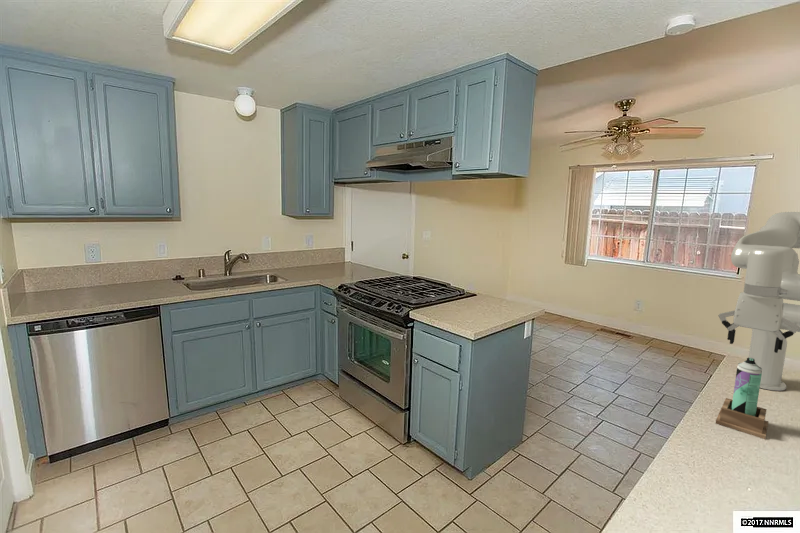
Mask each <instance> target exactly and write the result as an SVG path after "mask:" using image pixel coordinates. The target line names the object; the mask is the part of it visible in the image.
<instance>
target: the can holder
mask: <svg viewBox="0 0 800 533" xmlns="http://www.w3.org/2000/svg"><path fill="white" fill-rule="evenodd" d="M732 401H733V398H732V399H731V398H728V397H725V398H724V402H723V404H722V406H721V408H720V410H719V412H718V415H717V417H716V420H715V424H716V425H719V426H722V427H726V428H729V429H732V430H735V431H738V432H742V433H744V434H747V435H751V436H753V437H756V438H760V439H763V440H766V438H767V432H768V431H767V430H768V425H769V420H766V414H767V409H766V408H763V407H760V406H757V409H756V416H755V417H754V416H751V415H748V414H744V413H741V412H737V411H734V410H731V408H732Z"/></svg>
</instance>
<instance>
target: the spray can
mask: <svg viewBox="0 0 800 533" xmlns="http://www.w3.org/2000/svg"><path fill="white" fill-rule="evenodd" d="M761 370H762V368H761V367H759V366H758V365H757V364H756V363H755V359H753V358H748V357H746V360H744V361H743V362H739V363H737V367H736V372H735V379H734V386H733V387H734V388H733V394H732V400H733V401H732V408H731V410H734V411H737V412H741V413H744V414H748V415H751V416H754V417H755V416H756V409H757V407H758V401H759V396H760V395H759V394H760V389H761V388H760V382H761V375H762V371H761Z"/></svg>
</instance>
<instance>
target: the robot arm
mask: <svg viewBox="0 0 800 533" xmlns="http://www.w3.org/2000/svg"><path fill="white" fill-rule="evenodd" d="M795 249H800V211H783V212H782V211H781V212H778V213H775V214H772V215H771V216H770V217H768V219H767V221H766V223H765V224H764V225H763V226H762V227H760V229H759V230H758V231H755V232H752V233H751V232H750V233H748V234H746V235H744V236H742V237H740V238H739V239H738V241H737V242H736V244H735V246H734V247H733V249H732V251H731V256H730V259H731V260H730V261H731V263H732V265H733V266H734V267H736V268H739V269H743V270H745V278H744V285H743V286H744V287H743V291H741V292H740V293H739V295H738V298H737V300H736V301H737V302H736V305H735V309H734V310H731V311H726V312H720V313H719V314H718V318H719V320H720V322H721V324H722V325H723V326H724V327H725V328H726V329H727V331H728V332H727V341H729V345H730V344H731V345H733V344H734V342H735V337H736V330H737V328H738V327H742V328H747V329H751V330H752V331H751V339H750V344H749V351H748V352H749V353H748V357H747V358H753V359H755V363H756V364H757V365H758V366H759V367H761V368H762V370H761V371H762V375H761V382H760V389H764V390H769V391H785V390H787V384H786V383H785V382H784V381H782V378H783V373H784V372H783V371H784V365H785V359H786V352H787V347H788V340H787V339H788V338H790V337H792V336H794V335H795V334H796V333H800V304H796V303H795V304H794V303H788V302H784V300H789V301H797V302H800V273H798V271H799V270H798V269H799V264H800V260H799V255H798V253H797V252H796V250H795ZM732 316H733V322H732V323H730V322H729V321H728V320H727V317H732ZM782 330H785V332H783V331H782ZM786 330H787V331H786Z"/></svg>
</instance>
